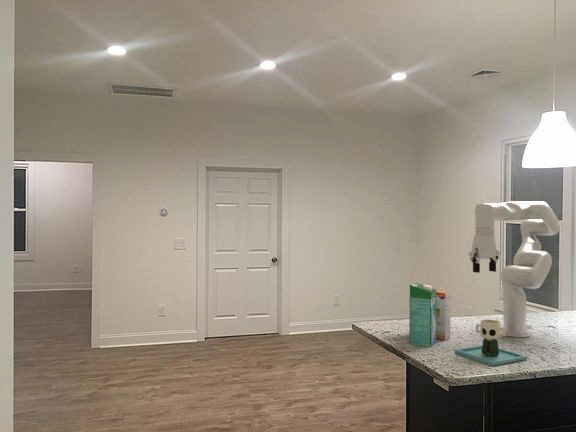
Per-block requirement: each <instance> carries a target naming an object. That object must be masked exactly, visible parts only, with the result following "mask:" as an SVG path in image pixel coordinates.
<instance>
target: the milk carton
mask: <svg viewBox="0 0 576 432" xmlns="http://www.w3.org/2000/svg"><path fill="white" fill-rule="evenodd" d="M436 314H437V289H436V288H434V287H433V286H432V285H428V284H426V283H425V284H421V283H419V282H415V283H412V284H410V285H409V331H408V332H409V337H408V338H409V339H408V341H409V344H410V345H416V346H423V347H429V348H431V347H432V346H434V345H435V344H436V343H437V339H436Z"/></svg>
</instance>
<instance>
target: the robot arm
mask: <svg viewBox="0 0 576 432" xmlns="http://www.w3.org/2000/svg"><path fill="white" fill-rule="evenodd" d="M474 217H475V218H474V219H475V220H474V221H475V222H474V223H475V224H474V228H475V229H474V230H475V231H474V234H475V235H473V239H472V247H471V251H469V253H468V256H469V260H471V263H472V273H477V274H479V273H480V272H481V264H480V263H481V262H480V261H481V259H482V260H483V259H484V260H485V259H488V260H489V261H488V271H489V272H495V273H496V272H497V263H498V260H499V256H500V253H501V252H500V251H499V250H498V249H497V244H496V243H497V242H496V237H495V221H520V222H521V223H520V233H521V239H522V242H521V244H520V246H519V248H518V250H517V252H516V253H515V255H514V258H513V259H512V261H513V264H512V265H507V266H504V267H503V268H502V270H501V273H500V277H501V278H500V279H501V282H502V283H501V284H502V291H503V292H502V293H503V294H502V295H503V297H502V298H503V299H502V300H503V301H502V303H503V304H502V305H503V306H502V310H503V311H502V312H503V313H502V319H503V320H502V321H503V322H502V325H503V326H502V327H503V328H505V329H506V335H505V337H511V338H512V337H513V338H529V337H531V333H530V332H529V331H528V330H532V329H533V325H532V324H527V295H526V293H525V291H524V288H526V289H531V290H532V289H533V290H534V289H535V290H537V289H539V288H540V287H541V286H542V285H543V283H544V282H545V280H546V277H547V276H548V274H549V273H550V270H551V268H552V263H553V260H552V259H553V258H552V256H551V254H550V253H549V252H547V251H546V250H542V244H541V242H540V241H539V239H538V238H537V237H536V236H556V235H557V234H558V233H559V232H560V230H561V229H560V227H561V225H560V222H559V220H558V218H557V216H556V214H555V213H554V211H553V209H552V208H551V207H550V206H549V204H548V203H547V202H545V201H537V200H536V201H507V202H497V203H492V202H491V203H477V204H476V205H475V209H474ZM500 333H502V334H503V330H500Z"/></svg>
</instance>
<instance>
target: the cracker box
mask: <svg viewBox="0 0 576 432" xmlns="http://www.w3.org/2000/svg"><path fill="white" fill-rule="evenodd" d="M450 338H451V291H443V290H437V314H436V340H439V341H446V340H449V339H450Z"/></svg>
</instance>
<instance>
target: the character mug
mask: <svg viewBox="0 0 576 432" xmlns="http://www.w3.org/2000/svg"><path fill="white" fill-rule="evenodd" d="M501 323H502V322H501V321H500V320H496V319H490V318H488V319H487V318H485V319H484V318H483V319H480V323H475V332H476V333H480V336H481V338H483V340H482V344H481V345H482V353H483V354H485V355H487V353H489V355H491V356H496V355H499V348H500V347H499V342H498V340H499V339H500V338H501V337H506V329H505V328H503V326H502V327H501ZM479 327H480V329H479ZM500 330H503V334H502V333H500Z"/></svg>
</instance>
